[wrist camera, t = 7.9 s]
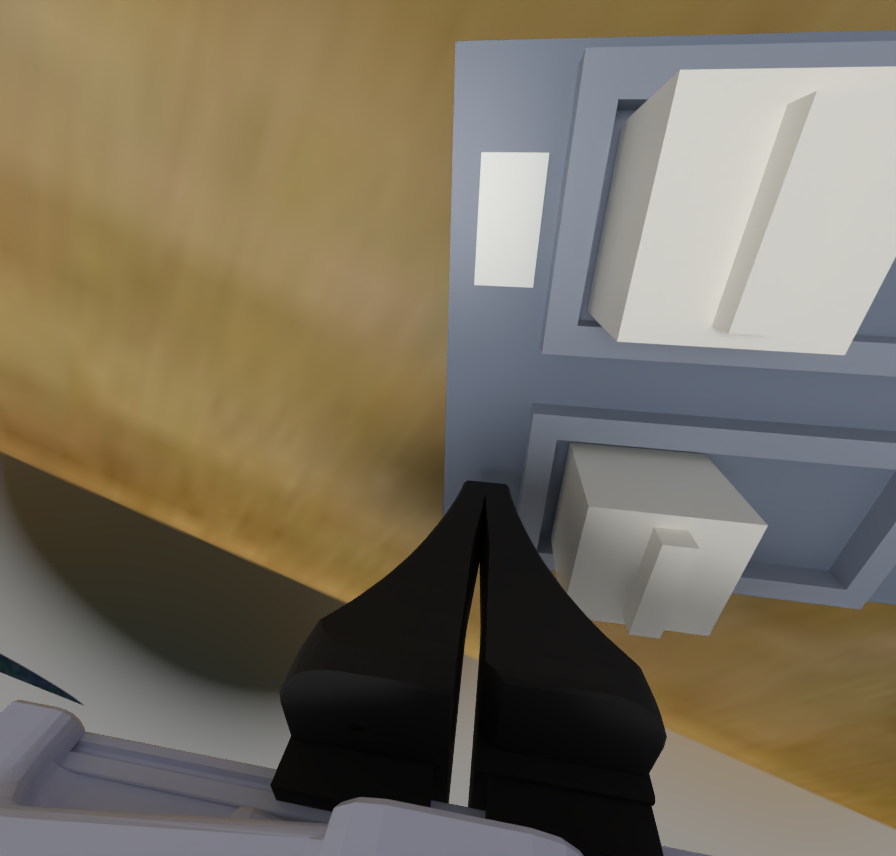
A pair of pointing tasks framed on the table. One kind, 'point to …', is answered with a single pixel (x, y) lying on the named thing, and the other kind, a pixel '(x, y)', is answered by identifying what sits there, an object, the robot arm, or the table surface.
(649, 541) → the far tab
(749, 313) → the near tab
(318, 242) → the table surface
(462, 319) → the switch bank
